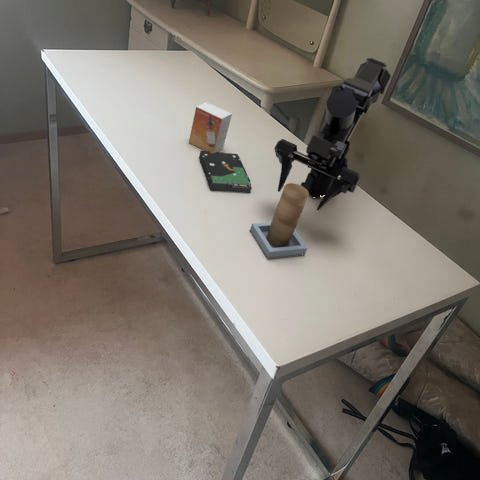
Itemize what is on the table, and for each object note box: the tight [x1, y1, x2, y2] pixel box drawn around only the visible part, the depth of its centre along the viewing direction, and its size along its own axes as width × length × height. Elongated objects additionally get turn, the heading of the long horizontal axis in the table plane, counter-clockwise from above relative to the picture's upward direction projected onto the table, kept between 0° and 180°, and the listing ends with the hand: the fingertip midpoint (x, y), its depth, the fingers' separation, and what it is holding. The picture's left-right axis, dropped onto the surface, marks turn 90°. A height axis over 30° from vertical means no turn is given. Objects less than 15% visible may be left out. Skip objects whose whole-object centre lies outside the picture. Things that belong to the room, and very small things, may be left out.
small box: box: [188, 101, 233, 154], centre depth 120 cm, size 8×6×10 cm
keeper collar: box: [249, 221, 308, 260], centre depth 97 cm, size 9×9×2 cm
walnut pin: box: [266, 182, 310, 248], centre depth 93 cm, size 5×5×13 cm
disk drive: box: [198, 150, 252, 194], centre depth 113 cm, size 10×3×15 cm
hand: (297, 200), depth 97 cm, fingers open, 9 cm apart
